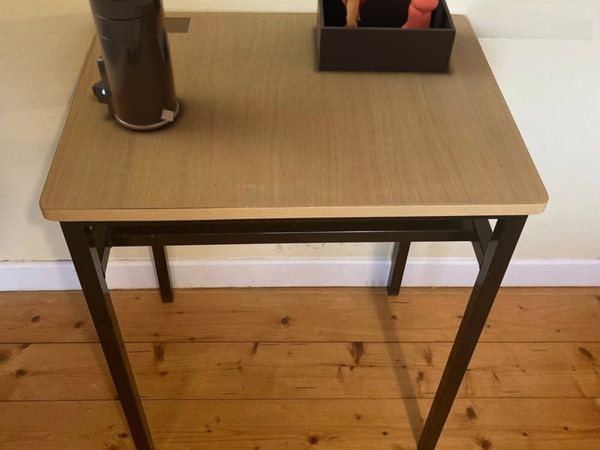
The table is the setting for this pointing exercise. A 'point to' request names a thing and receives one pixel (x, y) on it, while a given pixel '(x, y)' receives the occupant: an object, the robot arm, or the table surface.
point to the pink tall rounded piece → (420, 13)
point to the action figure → (353, 11)
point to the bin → (383, 38)
